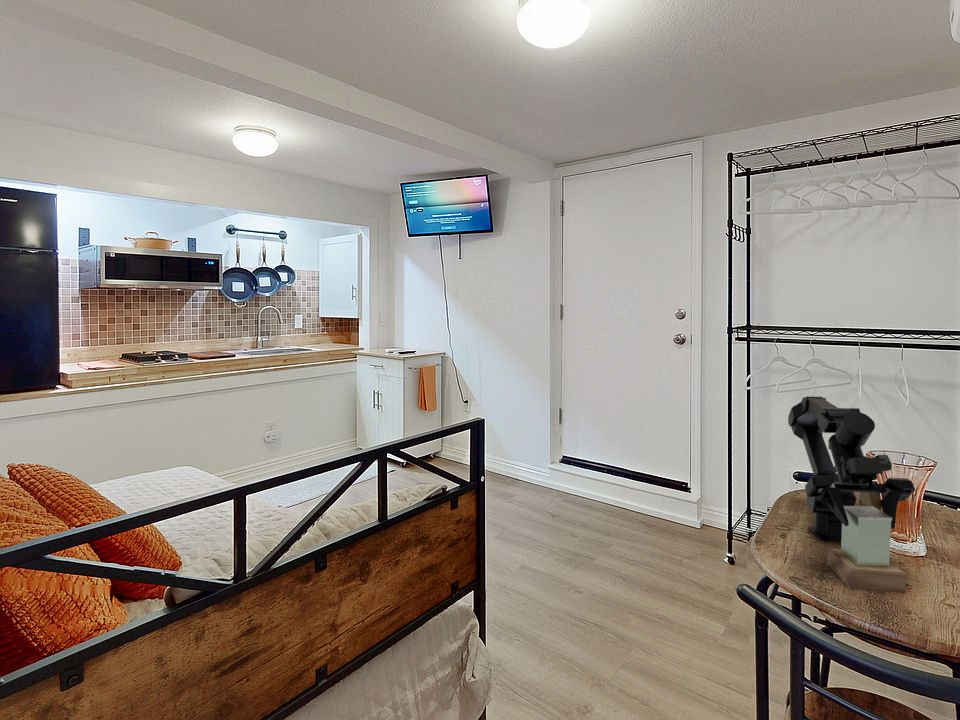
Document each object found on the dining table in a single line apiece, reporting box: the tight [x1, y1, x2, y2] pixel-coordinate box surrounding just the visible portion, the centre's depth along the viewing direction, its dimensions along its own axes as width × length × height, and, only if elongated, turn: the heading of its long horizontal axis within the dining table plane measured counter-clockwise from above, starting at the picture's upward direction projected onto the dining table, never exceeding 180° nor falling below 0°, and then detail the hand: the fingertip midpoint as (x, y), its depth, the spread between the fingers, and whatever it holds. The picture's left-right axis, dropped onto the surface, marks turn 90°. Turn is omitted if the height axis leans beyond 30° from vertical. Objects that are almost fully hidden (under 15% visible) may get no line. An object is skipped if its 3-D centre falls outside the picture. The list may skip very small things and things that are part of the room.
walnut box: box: [826, 547, 907, 593], centre depth 111 cm, size 10×10×4 cm
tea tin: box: [840, 505, 892, 567], centre depth 110 cm, size 6×6×10 cm
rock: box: [858, 481, 881, 511], centre depth 140 cm, size 11×9×10 cm
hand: (869, 526), depth 108 cm, fingers open, 8 cm apart
